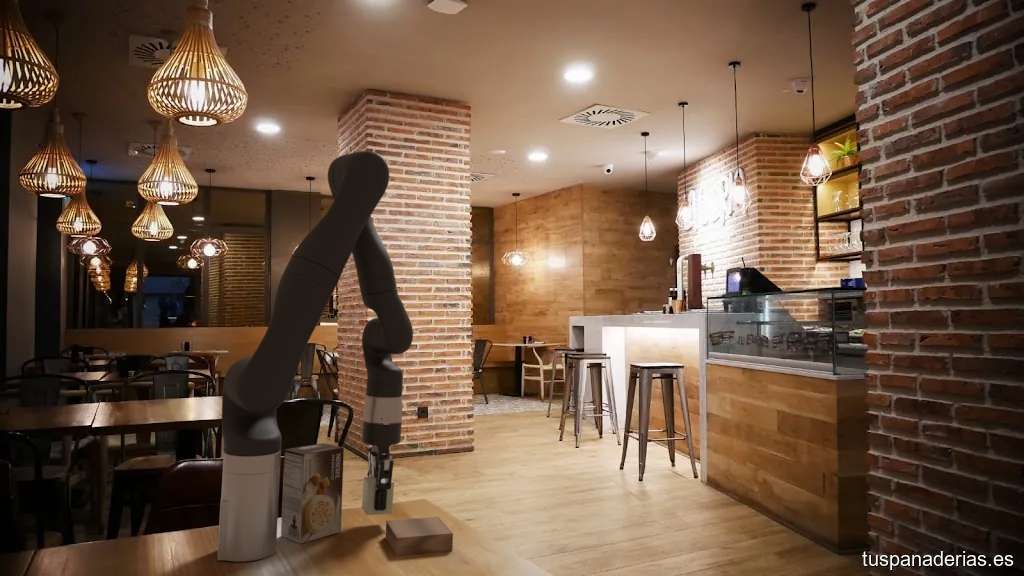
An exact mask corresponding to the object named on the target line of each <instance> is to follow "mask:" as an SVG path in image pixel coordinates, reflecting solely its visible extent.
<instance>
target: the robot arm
mask: <svg viewBox="0 0 1024 576" xmlns="http://www.w3.org/2000/svg"><path fill="white" fill-rule="evenodd" d="M389 181H390V168H389V165H388V163H387V161H386V159H385V158H384V157H383V156H382V155H381V154H379V153H377V152H375V151H370V150H361V151H356V152H352V153H347V154H343V155H340V156H338V157H336V158H335V159H333V161H332V162H330V164H329V167H328V170H327V182H328V186H329V189H330V192H331V195H332V198H333V202H332V204H331V205H330V206H329V209H328V210H327V211H326V213H325V214H324V216H323V217H321V219H320V220H319V221H318V222H317V224H315V226H313V228H312V229H311V230H310V231H309V232H308V233H307V234H306V235H305V237H304V238H303V239H302V240H301V242H300V243H299V244H298V246H297V247H296V248H295V250H294V252H293V253H292V255H291V257H290V259H289V261H288V263H287V265H286V267H285V268H284V270H283V273H282V275H281V276H280V277H281V278H280V280H279V282H278V286H277V288H276V293H275V297H274V303H273V309H272V312H271V313H272V314H271V318H270V320H269V324H268V327H267V329H266V332H265V334H264V336H263V338H262V339H261V341H260V343H259V345H258V346H257V348H256V350H254V353H253V355H251V356H245V357H242V358H240V359H238V360H236V361H234V362H233V364H232V365H230V367H229V368H228V369H227V371H226V373H225V376H224V379H223V384H222V385H223V386H222V397H221V398H222V400H221V401H222V402H221V404H222V405H221V434H222V437H223V438H222V439H223V461H222V476H221V477H222V479H221V480H222V481H221V495H220V496H221V497H220V502H219V503H220V505H219V507H220V508H219V522H218V524H219V525H218V543H217V561H228V562H242V563H243V562H251V561H257V560H262V559H265V558H268V557H271V556H272V555H273V554H275V553H276V551H277V541H278V535H277V534H278V519H279V518H278V517H279V499H280V498H279V497H280V496H279V495H280V478H281V463H282V462H281V460H282V458H281V455H282V439H283V438H282V434H281V431H280V428H279V426H278V421H277V409H278V408H279V407H281V405H282V404H283V403H284V402H285V401H286V399H287V398H288V395H289V394H290V391H291V388H292V386H293V383H294V381H295V377H296V374H297V372H298V369H299V366H300V364H301V361H302V357H303V355H304V352H305V350H306V347H307V345H308V343H309V341H310V339H311V337H312V334H313V333H314V331H315V329H316V327H317V325H318V323H319V321H320V319H321V317H322V315H323V313H324V310H325V309H326V307H327V304H328V303H329V301H330V299H331V297H332V296H333V293H334V291H335V289H336V288H337V285H338V283H339V281H340V279H341V277H342V274H343V272H344V270H345V267H346V264H347V263H348V261H349V259H350V256H351V255H352V258H353V261H354V265H355V271H356V274H357V280H358V285H359V291H360V295H361V299H362V300H361V301H362V302H363V305H364V306H365V307H366V308H367V309H369V310H371V311H373V312H374V313H375V315H376V316H377V317H374V318H372V319H371V320H369V321H368V322H367V323H366V325H365V326H364V329H363V332H362V336H361V345H362V353H363V359H364V365H365V369H366V374H367V375H366V376H367V377H366V388H365V389H366V390H365V392H366V393H365V400H364V405H363V416H362V419H363V420H362V429H361V430H362V432H361V442H362V443H363V444H365V445H369V447H368V449H367V474H366V477H373V478H374V479H375V487H374V489H375V499H374V509H375V510H376V511H380V510H385V509H386V499H387V490H388V489H390V488H391V480H392V481H393V471H394V470H393V469H394V464H395V462H394V459H393V454H392V453H391V451H390V447H391V446H396V445H399V444H400V442H401V439H402V438H401V437H402V436H401V435H402V423H403V422H402V421H403V385H404V383H403V381H404V374H403V373H404V372H403V370H402V369H401V368H400V367H398V366H397V365H395V363H394V362H393V356H392V355H402V354H405V353H406V352H407V351H408V350H409V349H410V347H411V346H412V343H413V338H414V330H413V325H412V323H411V322H412V321H411V319H410V317H409V315H408V313H407V310H406V308H405V306H404V302H403V301H402V300H401V297H400V295H399V293H398V287H397V282H396V276H395V271H394V267H393V263H392V260H391V258H390V254H389V253H388V251H387V249H386V247H385V245H384V242H383V241H382V239H381V238H380V236H379V233H378V231H377V229H376V227H375V224H374V222H373V219H372V218H373V217H372V214H373V212H374V211H375V209H376V207H377V206H378V204H379V203H380V201H381V199H382V198H383V197H384V194H385V192H386V191H387V189H388V187H389V186H388V185H389ZM382 479H385V483H381V480H382Z"/></svg>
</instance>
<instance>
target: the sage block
mask: <svg viewBox="0 0 1024 576" xmlns="http://www.w3.org/2000/svg"><path fill="white" fill-rule="evenodd" d="M381 483H385V479H382V480H381ZM394 485H395V481H393V479H392V480H391V488H390V489H388V490H387V499H386V509H385V510H380V511H376V510H375V509H374V499H375V489H374V487H375V479H374V478H373V477H368V476H364V477H363V485H362V500H361V501H362V502H361V509H362V510H363V512H364V514H365V515H366V516H370V515H371V516H375V515H390V514H391V515H392V514H393V505H394V504H393V503H394V491H395V490H394V487H395V486H394Z"/></svg>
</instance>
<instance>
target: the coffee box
mask: <svg viewBox="0 0 1024 576" xmlns="http://www.w3.org/2000/svg"><path fill="white" fill-rule="evenodd" d="M344 450H345V448H344V446H338V445H333V444H329V443H323V442H322V443H317V444H312V445H311V444H310V445H303V446H297V447H291V448H285V449H284V451H283V453H284V454H283V479H282V481H283V482H282V500H281V501H282V502H281V523H280V524H281V527H280V536H281V537H282V536H283V537H282V538H285V539H287V538H288V540H291V541H292V542H295V543H297V544H304V543H308V542H311V541H316V540H317V539H321V538H324V537H329V536H330V535H331V536H332V535H334V534H338V533H341V532H342V515H343V514H342V511H343V509H342V507H343V505H342V504H343V486H344V485H343V481H344V479H343V477H344Z"/></svg>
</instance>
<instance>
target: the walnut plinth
mask: <svg viewBox="0 0 1024 576" xmlns="http://www.w3.org/2000/svg"><path fill="white" fill-rule="evenodd" d="M385 539H386V540H387V542H388V543H389V545H390V548H391V549H392V550H393V552H394V554H395V556H397V557H398V556H406V555H417V554H426V553H436V552H437V553H438V552H446V551H449V552H450V551H453V543H454V542H453V539H454V533H453V531H452V530H451V529H450V528H449V527H448V525H446V523H444V522H443V520H442V519H441V518H440V517H439V516H432V517H430V516H429V517H417V518H406V519H390V520H386V521H385Z"/></svg>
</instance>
